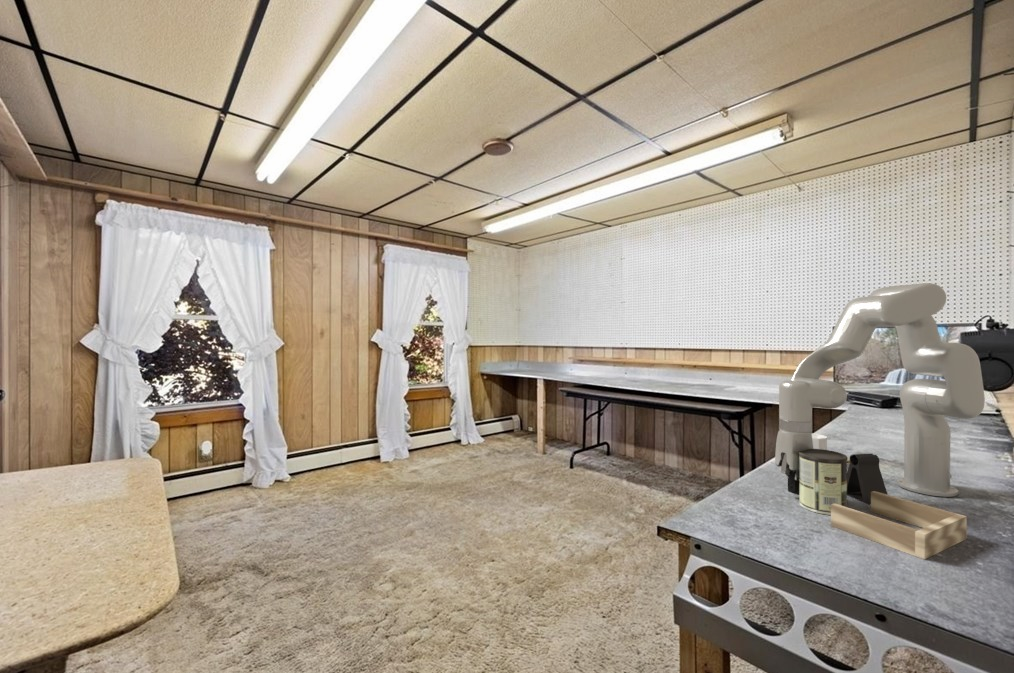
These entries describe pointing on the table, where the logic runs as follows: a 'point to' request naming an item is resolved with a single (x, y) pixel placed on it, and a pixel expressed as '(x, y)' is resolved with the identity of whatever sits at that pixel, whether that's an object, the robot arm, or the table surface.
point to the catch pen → (923, 543)
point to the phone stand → (864, 477)
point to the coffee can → (822, 480)
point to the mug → (819, 441)
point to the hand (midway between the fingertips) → (795, 492)
